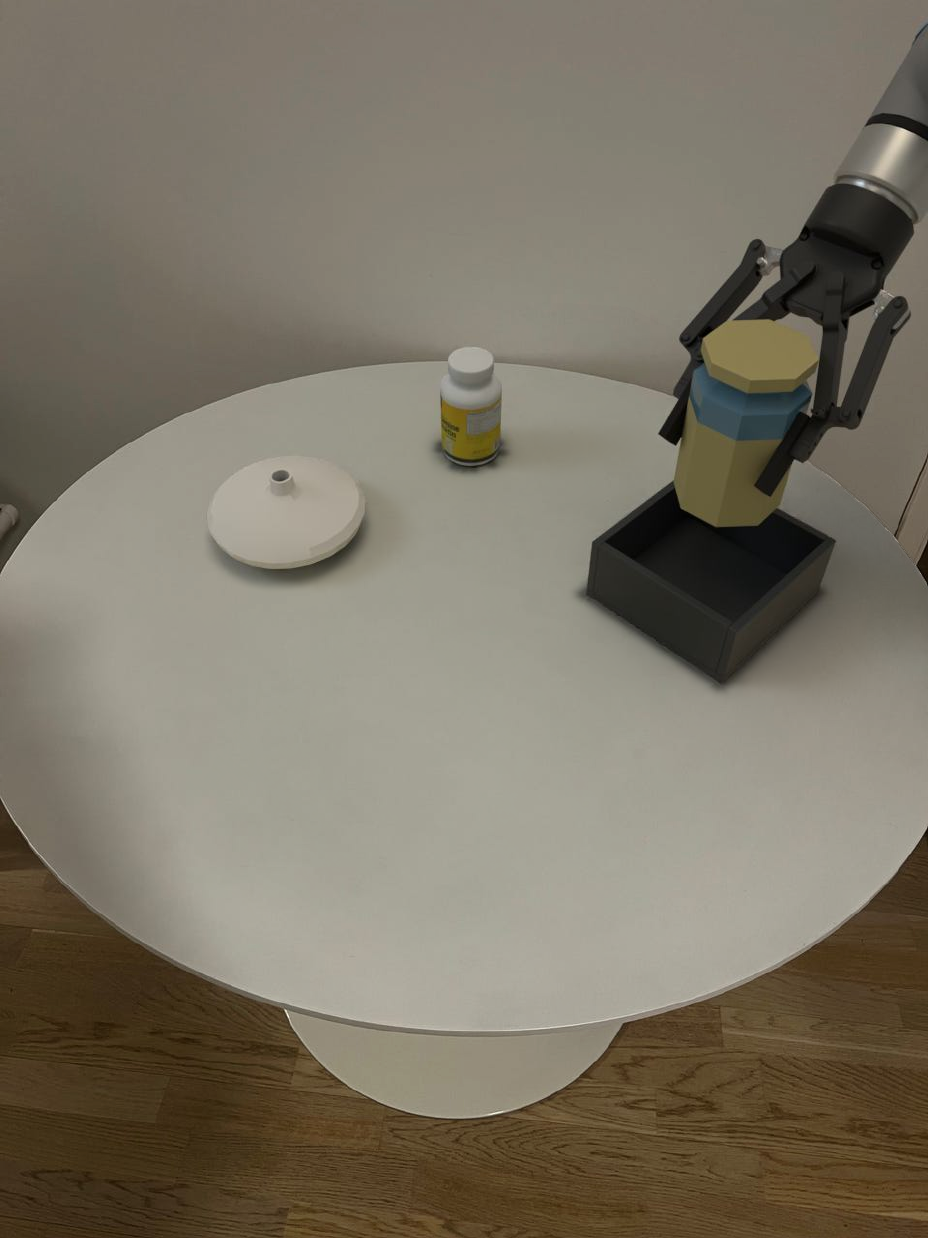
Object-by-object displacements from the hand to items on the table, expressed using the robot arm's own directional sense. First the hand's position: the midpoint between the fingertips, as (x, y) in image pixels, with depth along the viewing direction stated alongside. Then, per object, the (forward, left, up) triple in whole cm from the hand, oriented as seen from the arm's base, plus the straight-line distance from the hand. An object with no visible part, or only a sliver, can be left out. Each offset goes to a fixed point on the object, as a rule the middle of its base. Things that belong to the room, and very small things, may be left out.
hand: (713, 464), depth 81 cm
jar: (0, -3, -6) cm, 7 cm away
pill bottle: (+31, -3, -18) cm, 36 cm away
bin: (0, -3, -17) cm, 18 cm away
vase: (+35, +19, -18) cm, 43 cm away
